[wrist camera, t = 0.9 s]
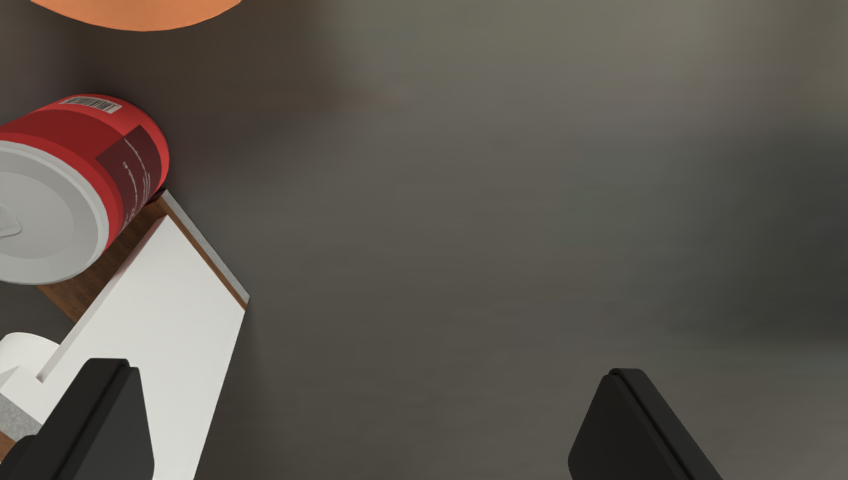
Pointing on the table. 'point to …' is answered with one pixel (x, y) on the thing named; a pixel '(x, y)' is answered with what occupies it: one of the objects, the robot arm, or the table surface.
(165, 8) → the lid
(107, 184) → the canned food
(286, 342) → the table surface
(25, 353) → the white shelf unit
